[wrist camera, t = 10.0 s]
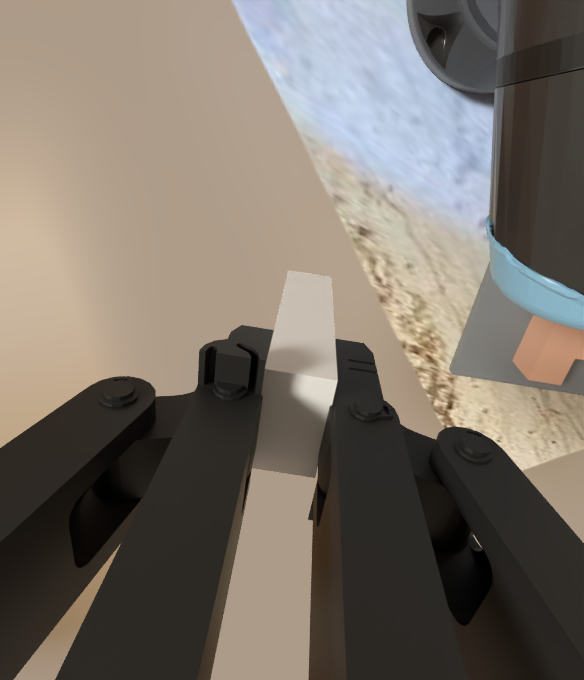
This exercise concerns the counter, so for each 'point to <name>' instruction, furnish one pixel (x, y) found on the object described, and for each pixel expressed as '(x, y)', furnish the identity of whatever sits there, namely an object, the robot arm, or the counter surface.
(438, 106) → the counter surface
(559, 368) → the t block
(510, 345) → the mat
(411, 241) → the counter surface
